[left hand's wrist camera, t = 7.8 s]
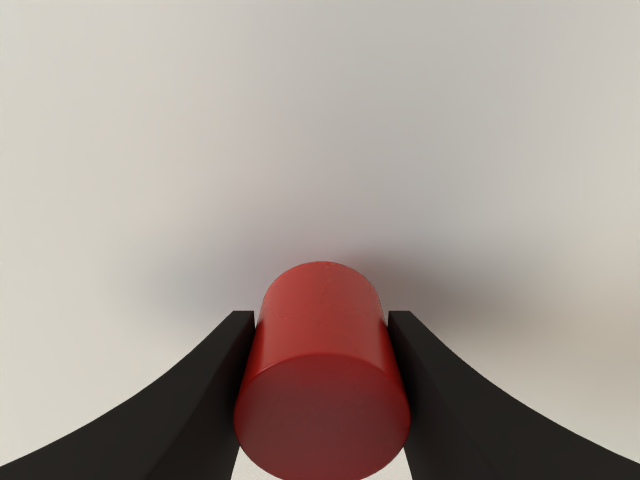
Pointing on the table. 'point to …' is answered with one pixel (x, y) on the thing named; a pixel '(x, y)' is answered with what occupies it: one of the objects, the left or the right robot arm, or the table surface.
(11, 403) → the table surface
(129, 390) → the table surface
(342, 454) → the can
